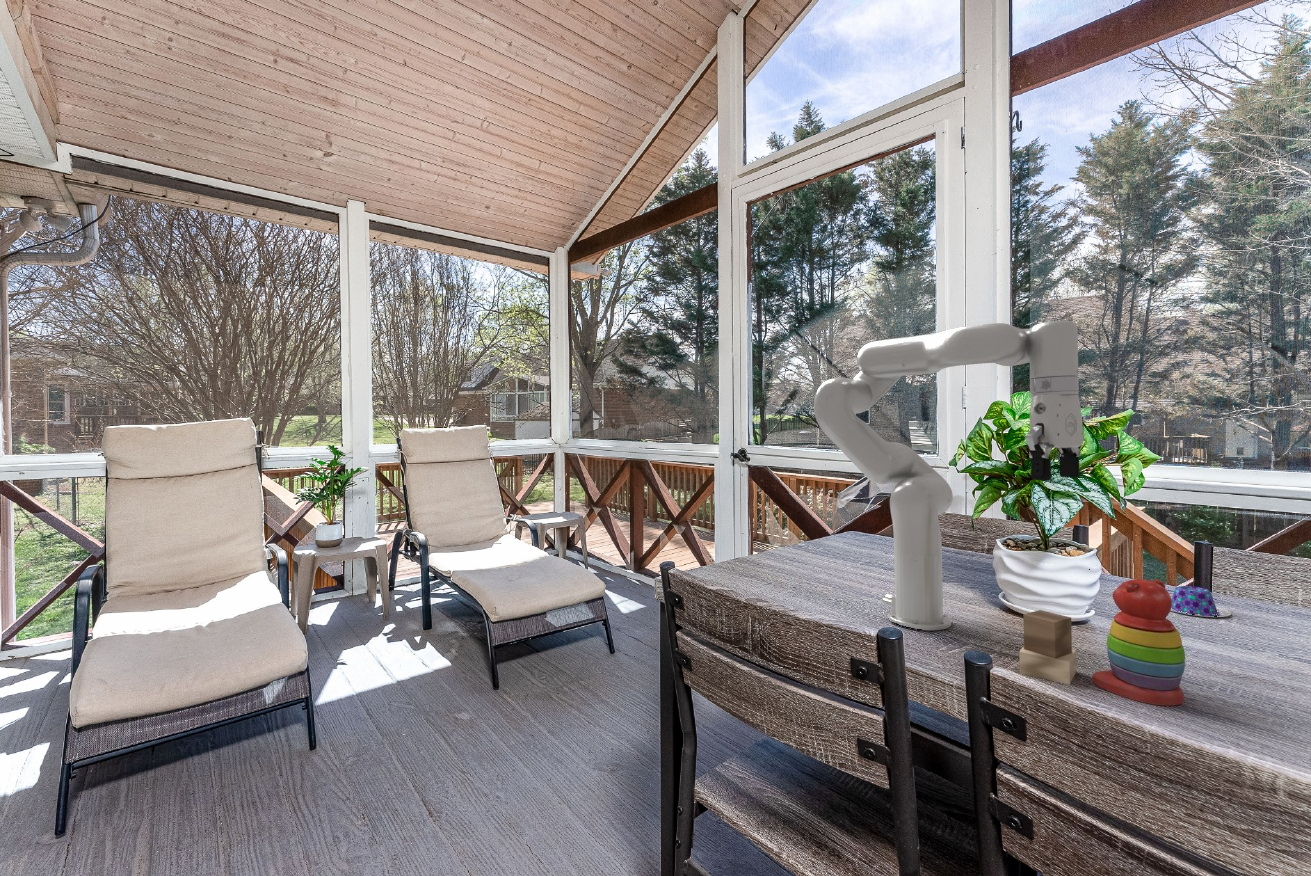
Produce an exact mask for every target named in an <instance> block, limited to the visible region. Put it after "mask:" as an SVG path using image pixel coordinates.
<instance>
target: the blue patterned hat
mask: <svg viewBox="0 0 1311 876" xmlns="http://www.w3.org/2000/svg"><path fill="white" fill-rule="evenodd" d="M1213 597H1214V596H1213V593H1211V591H1210V590H1209V589H1208V588H1202V587H1199V586H1192V585H1191V586H1190V585H1178V586H1176V587H1175V589H1174V591H1173V594H1172V596H1171V599H1172V607H1171V608H1172V609H1171V610H1170V612H1175V613H1178V614H1183V615H1187V616H1188V615H1189V616H1196V617H1201V616H1202V615H1204V616H1202V618H1203V617H1205V618H1215V617H1214V616H1215V615H1216V614H1218V615H1219V613H1218V612H1217V609H1219V611H1223V612H1225V613H1224V614H1225V615H1221V616H1218V615H1217V617H1216V618H1223V617H1228V616H1229V617H1230V616H1231V614H1232V613H1231V612H1230V611H1228V610H1226V609H1225V608H1222V607H1218V606H1216V603H1215V600H1214V598H1213ZM1173 610H1175V611H1173ZM1177 611H1180V612H1177ZM1181 611H1182V612H1181ZM1183 612H1187V613H1189V614H1186V613H1183ZM1192 614H1200V615H1192ZM1212 614H1215V615H1212ZM1211 615H1212V616H1211Z"/></svg>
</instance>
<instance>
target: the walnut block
mask: <svg viewBox="0 0 1311 876" xmlns="http://www.w3.org/2000/svg"><path fill="white" fill-rule="evenodd" d="M1022 615H1023V619H1022V620H1023V646H1024V649H1025V650H1029V651H1032V652H1035V653H1038V654H1041V655H1045V656H1048V657H1051V658H1054V659H1056V658H1059V657H1062V656H1065V655H1067V654H1070V653H1072V649H1073V646H1072V645H1073V644H1072V643H1073V642H1072V641H1073V640H1072V639H1073V638H1072V634H1073V633H1072V617H1070V616H1065V615H1062V614H1059V613H1053V612H1050V611H1045V610H1042V609H1038V610H1035V611H1032V612H1031V611H1030V612H1027V613H1024V614H1022Z"/></svg>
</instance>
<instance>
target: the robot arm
mask: <svg viewBox="0 0 1311 876" xmlns="http://www.w3.org/2000/svg"><path fill="white" fill-rule="evenodd" d="M1078 336H1079V335H1078V327H1077V324H1076V323H1075V322H1073V321H1071V320H1052V321H1045V322H1039V323H1037V324H1034V325H1033V326H1031V328H1020V327H1016V326H1014V325H1011V324H1008V323H1004V322H1001V323H1000V322H997V323H995V322H994V323H985V324H979V325H970V326H963V327H957V328H952V329H947V330H943V331H937V332H931V333H926V334H919V335H914V336H913V335H912V336H903V337H896V338H888V339H879V340H875V341H870V342H868V343H866V344H864V345H863V346H861V348H860V349H859V350H858V354H857V357H856V363H857V367H858V369H859V372H858V373H857V375H855V376H854V377H853V378H848V377H833V378H829V379H827V380H826V381H824V382H823V383H821V384H820V385H819V387H818V388H817V390H816V392H815V395H814V399H813V411H814V417H815V419H816V422H817V424H818V426H819V427H820V429H821V430H822V432H823V433H824V434H825V436H827V438H828V439H829V440H830V441H831V442H833V444H834V445H835V446H837V448H838V449H840V451H842V453H843V454H844V455H845V456H846V457H847V459H849V460H850V461H851V462H852V463H853V464H854V466H855V467H856V468H857V469H858V470H859V471H860V472H861V473H862V474H863V475H864V476H865V477H866V478H867V480H869V481H870V482H872V483H874V484H877V485H887V484H890V485H892V486H893V489H892V491H891V493H890V498H889V509H890V515H891V516H890V517H891V522H892V528H893V529H892V530H893V552H894V553H893V554H894V556H893V559H894V594H891V593H886V594H885V596H884V597H883V598H882V604H885V605H888V606H890V607H891V608H890V609H891V610H890V611H888V614H887V619H888V618H889V619H888V620H889V621H890V622H891V621H893V622H895V623H900V624H902V625H905V626H906V627H911V628H917V629H922V630H921V631H942V630H946V629H948V628H950V627H951V626H952V619H951V617H950V616H948V615H946V614H944V598H943V597H944V596H943V595H944V593H943V550H942V548H943V547H942V543H943V542H942V533H941V527H940V521H939V516H940V515H943V514H944V513H946V512H947V511H948V510H949V508H950V507H951V506H952V504H953V499H954V497H953V496H954V495H953V494H954V493H953V491H952V488H951V486H950V484H949V483H948V481H947V480H946V479H945V478H944V477H943V476H942V475H941V474H940V473H939V472H937V470H935V469H934V468H933V467H932V466H931V465H930V464H929V463H928V462H927V461H925V459H923V458H922V457H921V456H920V455H919V454H918V453H917V452H916V451H915V450H913V449H912V448H911V447H909V446H908V445H906V444H904V443H901V442H895V441H893V442H892V441H891V442H889V441H887V440H885V439H884V438H882V437H881V435H879V434H878V433H877V432H876V431H875V430H874V429H873V428H872V427H871V426H870V425H869V424H867V423H866V422H865V421H864V420H862V419H861V418H860V417H858V416H857V414H861V413H864V412H866V411H868V410H869V409H871V408H872V407H873V406H875V404H876V403H877V402H878V401H879V400H881V398H883V396H884V395H885V394H886V393H887V392H889V390H891V388H892V387H894V385H895V384H897V382H898V381H899V380H900V379H901V378H902V377H905V376H918V375H931V374H936V373H938V372H940V371H942V370H944V369H947V368H951V367H953V368H954V367H958V366H968V365H969V366H970V365H978V364H979V365H981V364H996V365H1000V366H1004V367H1015V366H1020V365H1024V364H1028V363H1029V384H1030V385H1029V387H1030V389H1029V391H1030V393H1029V395H1030V396H1029V397H1030V398H1031V401H1030V408H1029V409H1030V410H1029V431H1028V432H1027V433H1026V434H1025V436H1024V437H1025V442H1026V444H1027V447H1026V449H1027V450H1028V452H1029V454H1028V456H1029V459H1030V479H1031V480H1034V481H1051V480H1052V459H1051V458H1049V456H1050V454H1051V451H1052V449H1053V448H1057V449H1058V451H1059V452H1060V455H1061V456H1059V457H1058V461H1059V464H1058V465H1059V477H1061V478H1073V479H1074V478H1077V479H1078V478H1080V456H1081V447H1082V446H1083V444H1084V428H1083V414H1082V408H1081V401H1080V398H1079V395H1080V394H1079V389H1080V387H1079V345H1078V343H1079V341H1078V338H1079V337H1078ZM906 627H905V628H906ZM911 628H910V629H911ZM917 629H916V630H917Z"/></svg>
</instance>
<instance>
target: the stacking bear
mask: <svg viewBox="0 0 1311 876" xmlns="http://www.w3.org/2000/svg"><path fill="white" fill-rule="evenodd" d="M1112 599H1113V602H1114V604H1115V606H1116V607H1117V608H1118V609H1119V610H1120V611H1119V612H1117V613H1116V614H1115V615H1114V616H1113V620H1112V621H1111V625H1110V628H1109V633H1108V635H1107V638H1106V651H1107V657H1108V659H1109V665H1110V669H1111V670H1100V671H1095V672H1094V673H1093V674H1092V676H1091V682H1092V683H1093V684H1095V685H1096V686H1097V687H1099V688H1101V689H1104V691H1105V690H1106V691H1107V692H1110V693H1113V694H1115V695H1117V696H1121V697H1124V698H1126V699H1129V700H1133V701H1137V702H1141V703H1143V704H1149V705H1156V706H1170V707H1171V706H1179V705H1182V704H1183V703H1184V702H1185V695H1184V692H1183V690H1182V688H1181V686H1180V684H1181V682H1182V679H1183V674H1184V673H1185V668H1186V661H1185V660H1186V654H1185V648H1184V645H1183V640H1182V637H1181V634H1180V631H1179V630H1178V628H1176V627H1175V625H1174V623H1173V622H1172V621H1170V619H1168V618H1167V617H1168V616H1169V614H1170V612H1171V610H1172V609H1171V607H1172V596H1171V595H1170V593H1169V591H1168V590H1167V589H1166V584H1165V583H1164V582H1163V581H1162V580H1160V579H1154V580H1153V581H1151V580H1148V579H1140V578H1139V579H1138V578H1135V579H1134V578H1133V579H1129V580H1126V581H1124V582H1122V583H1121V584H1120V585H1119V586H1118V587H1117V588H1116V589H1115V590H1113V592H1112Z"/></svg>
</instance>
